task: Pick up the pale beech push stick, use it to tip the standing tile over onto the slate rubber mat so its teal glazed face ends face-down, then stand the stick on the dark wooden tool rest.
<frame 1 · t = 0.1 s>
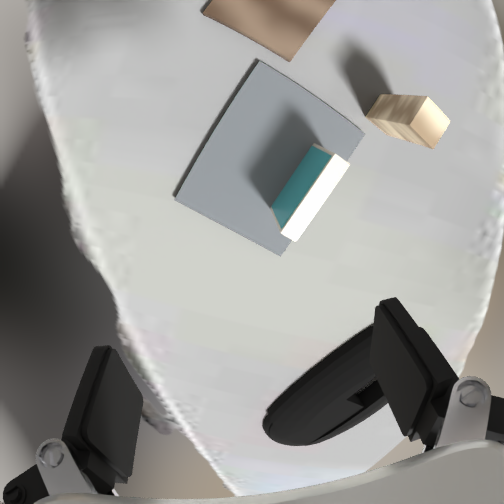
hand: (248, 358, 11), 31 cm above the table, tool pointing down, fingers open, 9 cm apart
mat: (270, 162, 38), on the table
push stick: (383, 114, 36), on the table
tile: (305, 188, 35), point 5 cm above the table, touching mat
tool rest: (272, 1, 29), on the table
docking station: (340, 392, 61), on the table
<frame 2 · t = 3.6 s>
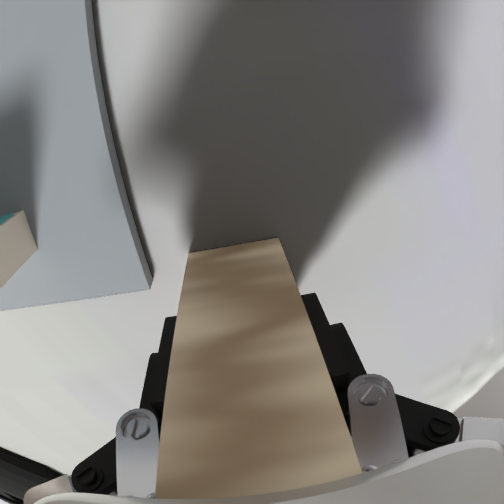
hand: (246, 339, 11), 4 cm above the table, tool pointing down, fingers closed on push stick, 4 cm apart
push stick: (240, 283, 15), on the table, touching gripper
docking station: (2, 468, 29), on the table
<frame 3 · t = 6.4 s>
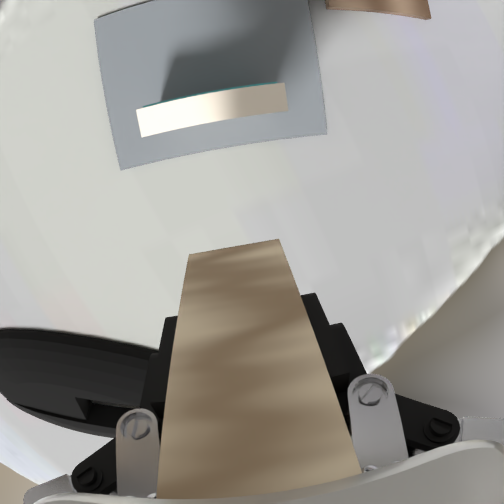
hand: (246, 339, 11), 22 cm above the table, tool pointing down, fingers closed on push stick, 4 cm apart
mat: (208, 66, 25), on the table
push stick: (241, 284, 15), point 18 cm above the table, touching gripper
tile: (213, 107, 23), point 5 cm above the table, touching mat
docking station: (75, 384, 43), on the table
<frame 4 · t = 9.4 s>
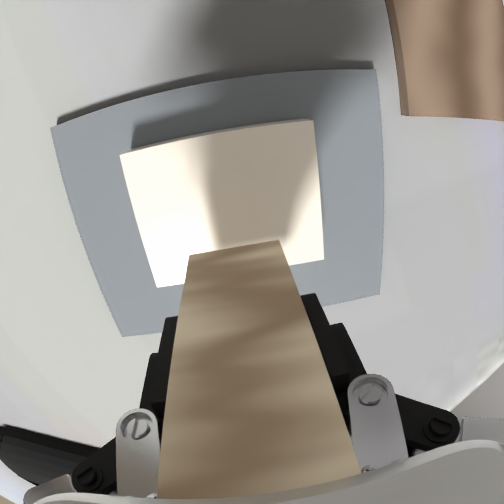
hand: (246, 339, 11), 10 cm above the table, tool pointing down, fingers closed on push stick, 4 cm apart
mat: (230, 211, 20), on the table
push stick: (241, 285, 15), point 6 cm above the table, touching gripper
tile: (227, 203, 18), point 2 cm above the table, tilted 90°, touching mat
tool rest: (457, 40, 15), on the table
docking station: (90, 471, 37), on the table
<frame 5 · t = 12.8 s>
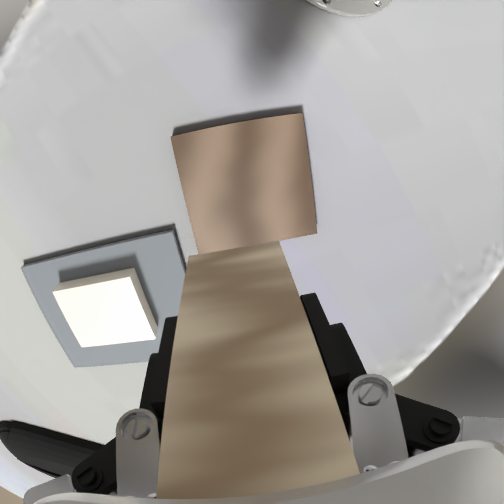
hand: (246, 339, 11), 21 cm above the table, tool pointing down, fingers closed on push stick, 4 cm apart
mat: (113, 309, 34), on the table
push stick: (240, 286, 15), point 17 cm above the table, touching gripper
tile: (104, 310, 32), point 2 cm above the table, tilted 90°, touching mat
tool rest: (247, 183, 30), on the table
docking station: (72, 456, 51), on the table
when the fingers open (7 cm above the table, at t = 16.2 s): push stick drops 2 cm, resting on tool rest.
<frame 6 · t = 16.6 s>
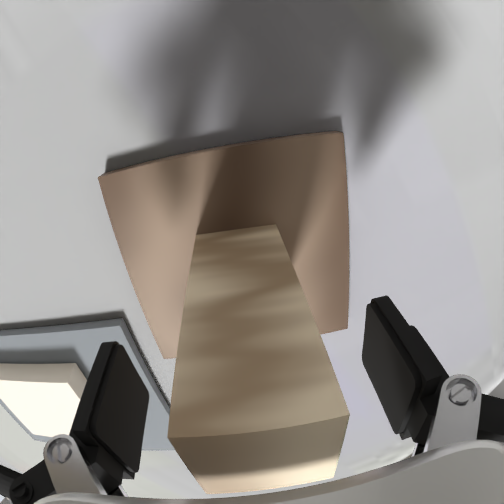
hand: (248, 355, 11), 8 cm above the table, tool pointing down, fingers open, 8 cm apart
mat: (62, 396, 22), on the table
push stick: (240, 264, 17), point 1 cm above the table, touching tool rest
tile: (49, 404, 20), point 2 cm above the table, tilted 90°, touching mat
tool rest: (237, 255, 18), on the table
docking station: (51, 496, 40), on the table
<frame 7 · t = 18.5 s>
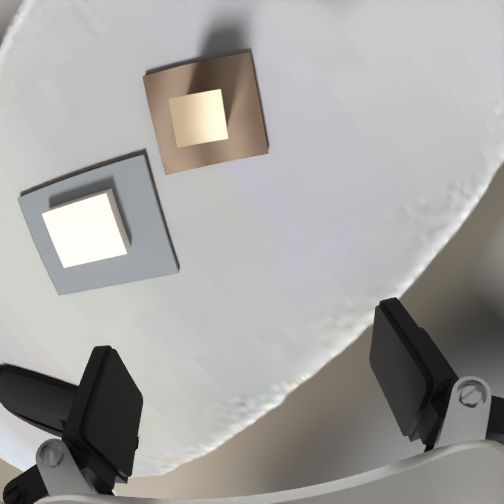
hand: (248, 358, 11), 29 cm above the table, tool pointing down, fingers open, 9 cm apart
mat: (93, 232, 38), on the table
push stick: (206, 113, 32), point 1 cm above the table, touching tool rest
tile: (85, 230, 36), point 2 cm above the table, tilted 90°, touching mat
tool rest: (206, 112, 33), on the table
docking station: (58, 406, 57), on the table
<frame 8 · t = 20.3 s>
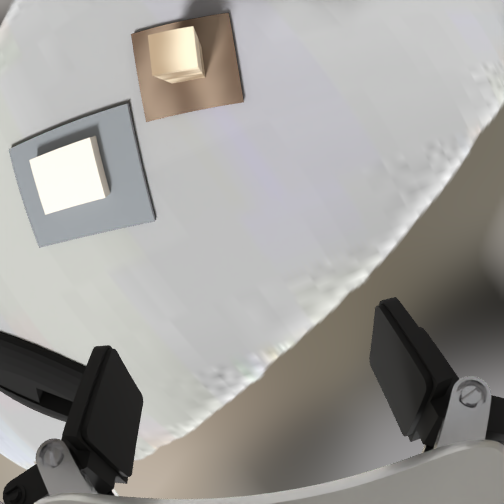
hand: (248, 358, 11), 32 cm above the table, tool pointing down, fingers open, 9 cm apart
mat: (76, 180, 38), on the table
push stick: (186, 65, 32), point 1 cm above the table, touching tool rest
tile: (68, 176, 36), point 2 cm above the table, tilted 90°, touching mat
tool rest: (186, 65, 33), on the table
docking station: (36, 376, 55), on the table
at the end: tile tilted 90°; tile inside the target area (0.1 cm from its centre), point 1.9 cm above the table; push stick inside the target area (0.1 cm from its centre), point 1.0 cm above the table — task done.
